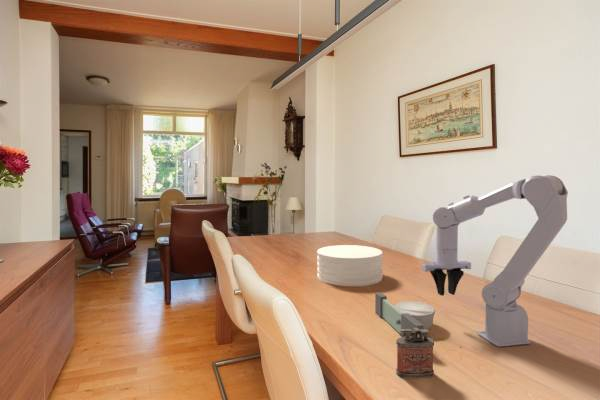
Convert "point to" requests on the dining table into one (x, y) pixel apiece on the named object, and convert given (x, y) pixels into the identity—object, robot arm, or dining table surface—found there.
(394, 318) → the door
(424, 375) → the lighter
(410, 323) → the grey angled pieces
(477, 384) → the dining table surface
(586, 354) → the dining table surface
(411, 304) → the ramekin
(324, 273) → the plate stack
